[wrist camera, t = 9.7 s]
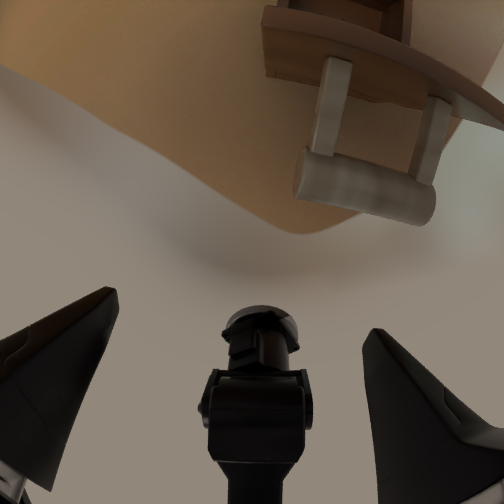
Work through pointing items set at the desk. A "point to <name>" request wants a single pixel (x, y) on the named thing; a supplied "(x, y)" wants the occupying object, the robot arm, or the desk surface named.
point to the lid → (382, 86)
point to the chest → (360, 14)
